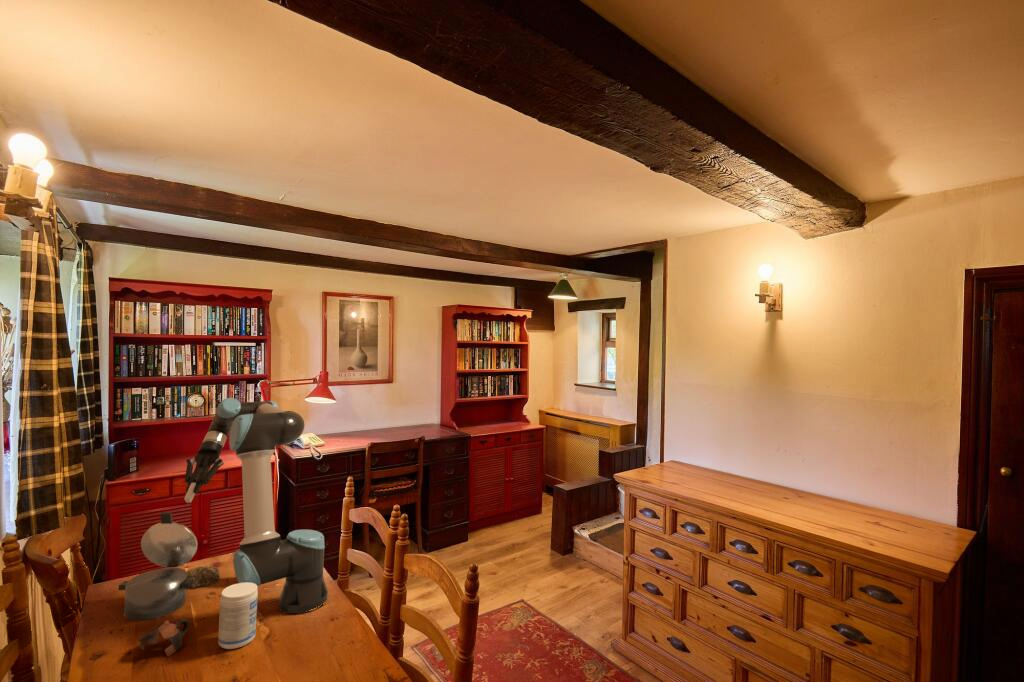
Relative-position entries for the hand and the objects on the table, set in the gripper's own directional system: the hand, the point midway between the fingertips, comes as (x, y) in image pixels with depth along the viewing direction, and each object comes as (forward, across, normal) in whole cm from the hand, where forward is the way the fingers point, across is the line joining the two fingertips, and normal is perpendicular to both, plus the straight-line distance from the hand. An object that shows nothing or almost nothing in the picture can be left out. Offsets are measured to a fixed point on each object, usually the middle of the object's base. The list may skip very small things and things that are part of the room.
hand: (187, 500), depth 173 cm
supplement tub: (+47, -34, +6) cm, 58 cm away
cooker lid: (+15, 0, +1) cm, 15 cm away
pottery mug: (+49, -16, +7) cm, 51 cm away
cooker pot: (+32, 0, -9) cm, 33 cm away
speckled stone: (+20, -5, -22) cm, 30 cm away
